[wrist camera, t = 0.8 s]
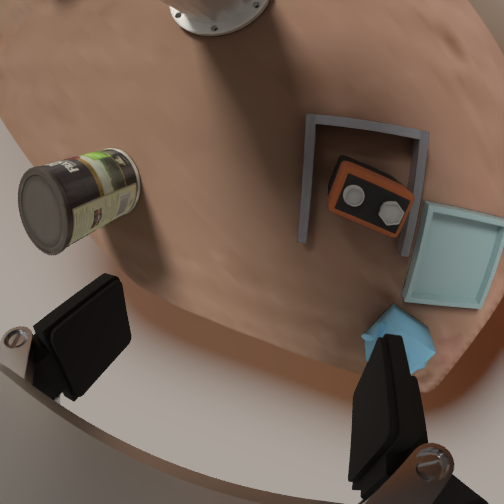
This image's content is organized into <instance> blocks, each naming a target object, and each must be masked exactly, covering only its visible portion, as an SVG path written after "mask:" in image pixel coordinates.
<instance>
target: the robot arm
mask: <svg viewBox="0 0 504 504" xmlns="http://www.w3.org/2000/svg"><path fill="white" fill-rule="evenodd" d="M160 1H162V2H164V3H166V4H167V5H169V8H170V12H171V15H172V17H173V19H174V21H175V22H176V23H177V24H178V25H179V26H181V27H182V28H184V29H185V30H187V31H189V32H191V33H193V34H197V35H201V36H220V35H225V34H229V33H232V32H235V31H237V30H240V29H241V28H243V27H245V26H247V25H249V24H250V23H251V22H253V21H254V20H255V19H256V18H257V17H258V16H259V15H260V14H261V13H262V12H263V11H264V9H265V8H266V6H267V5H268V2H269V0H160ZM257 6H260V7H258V8H256V7H257ZM216 29H217V30H216ZM215 30H216V31H215ZM33 327H34V330H35V333H36V334H34V335H33V334H32V332H31V330H30V329H28V328H27V327H16V328H12V329H10V330H9V331H7V332H6V333H5V334H4V335H3V337H2V339H1V341H0V504H341V503H334V502H327V501H319V500H312V499H305V498H298V497H292V496H287V495H281V494H276V493H271V492H267V491H262V490H258V489H253V488H249V487H245V486H241V485H237V484H233V483H230V482H226V481H223V480H219V479H216V478H213V477H209V476H206V475H204V474H201V473H198V472H194V471H192V470H189V469H186V468H184V467H181V466H178V465H176V464H173V463H170V462H168V461H165V460H163V459H161V458H158V457H156V456H153V455H151V454H149V453H147V452H144V451H142V450H140V449H138V448H136V447H134V446H132V445H130V444H127V443H125V442H123V441H121V440H120V439H118V438H116V437H114V436H112V435H110V434H108V433H106V432H104V431H103V430H101V429H99V428H97V427H95V426H94V425H92V424H90V423H88V422H87V421H85V420H83V419H82V418H80V417H78V416H77V415H75V414H73V413H72V412H70V411H69V410H67V409H66V408H64V407H63V406H61V405H60V394H61V393H62V392H63V394H64V396H66V397H67V398H69V399H71V400H72V401H75V400H76V399H77V398H78V397H81V396H82V395H84V393H85V392H86V391H87V390H88V389H89V388H90V387H91V385H92V384H93V383H94V382H95V381H96V380H97V379H98V377H100V375H101V374H102V373H103V372H104V371H105V370H106V369H107V368H108V366H109V365H110V364H111V363H112V362H113V361H114V360H115V359H116V358H117V356H118V355H119V354H120V353H121V352H122V351H123V350H124V349H125V348H126V347H127V345H128V344H129V343H130V341H131V332H130V326H129V321H128V316H127V311H126V305H125V298H124V292H123V286H122V283H121V282H120V280H119V278H118V277H117V276H113V275H110V274H106V273H104V274H102V275H101V276H99V277H98V278H97V279H95V280H94V281H92V282H91V283H90V284H88V285H87V286H85V287H84V288H83V289H81V290H80V291H79V292H77V293H76V294H74V295H73V296H72V297H70V298H69V299H68V300H66V301H65V302H64V303H62V304H61V305H60V306H58V307H57V308H56V309H55V310H53V311H52V312H51V313H49V314H48V315H47V316H45V317H44V318H43V319H42V320H40V321H39V322H38V323H36V324H35V325H34V326H33ZM453 471H454V460H453V457H452V455H451V453H450V452H449V451H448V450H447V449H446V448H445V447H443V446H442V445H439V444H436V443H428V438H427V431H426V424H425V418H424V412H423V406H422V400H421V395H420V390H419V385H418V381H417V378H416V377H415V376H411V374H410V369H409V364H408V359H407V355H406V351H405V346H404V342H403V338H402V336H401V335H394V334H387V333H386V334H384V336H383V337H378V339H377V341H376V343H375V346H374V348H373V351H372V353H371V355H370V358H369V360H368V363H367V365H366V367H365V370H364V372H363V374H362V376H361V378H360V381H359V383H358V385H357V387H356V389H355V392H354V396H353V410H352V433H351V450H350V462H349V473H348V481H350V482H353V485H352V490H361V498H362V500H361V501H360V502H359V503H358V504H488V503H487V501H485V500H484V499H483V498H482V497H480V496H479V495H478V494H476V493H475V492H474V491H473V490H471V489H470V488H469V487H468V486H466V485H465V484H464V483H462V482H461V481H460V480H459V479H457V478H456V477H455V476H454V475H452V473H453Z"/></svg>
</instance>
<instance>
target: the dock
mask: <svg viewBox="0 0 504 504" xmlns="http://www.w3.org/2000/svg"><path fill="white" fill-rule="evenodd" d="M316 124H320V125H330V126H339V127H347V128H355V129H362V130H369V131H375V132H381V133H387V134H393V135H398V136H404V137H409V138H413V149H412V158H411V167H410V175H409V182H408V190H409V191H410V192H411V193H412V194H413V195H414V197H415V200H414V202H413V204H412V207H411V209H410V211H409V213H408V216H407V218H406V220H405V222H404V224H403V226H402V228H401V230H400V234H399V239H398V243H397V249H398V251H399V253H400V255H401V256H405V257H409V254H410V250H411V246H412V241H413V237H414V232H415V228H416V223H417V218H418V212H419V207H420V201H421V196H422V189H423V183H424V176H425V168H426V160H427V151H428V141H429V132H426V131H422V130H417V129H413V128H408V127H403V126H398V125H392V124H387V123H381V122H375V121H368V120H362V119H354V118H347V117H338V116H329V115H319V114H307V113H306V124H305V144H304V161H303V177H302V191H301V204H300V217H299V228H298V240H297V242H298V243H306V242H307V237H308V229H309V218H310V208H311V196H312V184H313V171H314V156H315V140H316Z"/></svg>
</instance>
